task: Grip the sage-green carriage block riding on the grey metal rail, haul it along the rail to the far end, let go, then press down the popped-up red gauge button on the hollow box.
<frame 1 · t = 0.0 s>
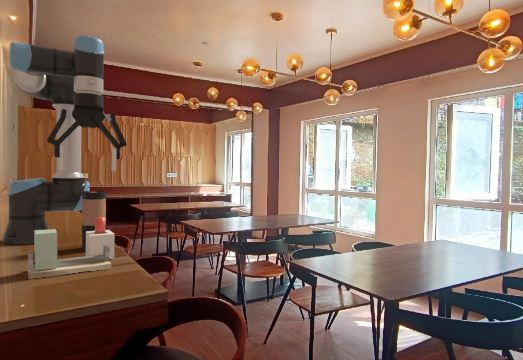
hand: (88, 170, 104), 28 cm above the table, fingers open, 13 cm apart
hollow box: (99, 257, 118), on the table
gauge button: (100, 225, 117), point 10 cm above the table, slide at 0.0 cm
travel mug: (93, 249, 129), on the table
carriage: (45, 248, 100), point 7 cm above the table, slide at 0.0 cm
rail: (70, 269, 104), on the table
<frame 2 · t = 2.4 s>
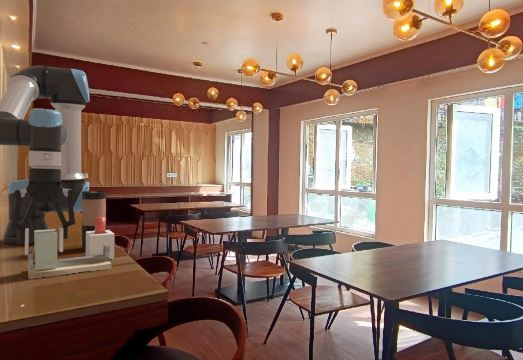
hand: (44, 252, 100), 6 cm above the table, fingers open, 7 cm apart
nothing on the table moved.
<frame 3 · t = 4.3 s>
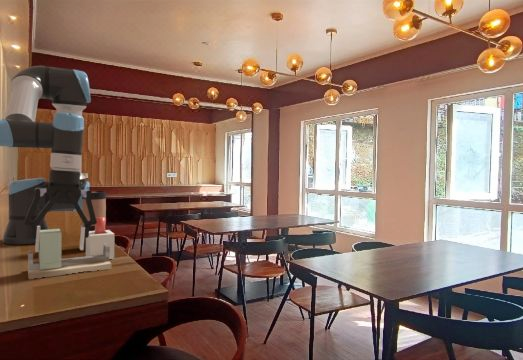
hand: (59, 250, 102), 6 cm above the table, fingers open, 10 cm apart
carriage: (49, 248, 101), point 7 cm above the table, slide at 1.1 cm, touching gripper
everything else where it was.
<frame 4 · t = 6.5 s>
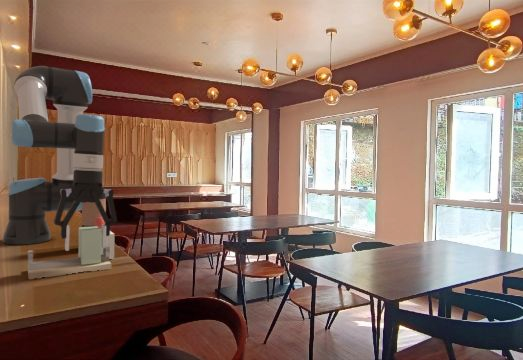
hand: (85, 248, 106), 6 cm above the table, fingers open, 9 cm apart
carriage: (89, 244, 106), point 7 cm above the table, slide at 10.9 cm
everything else where it was.
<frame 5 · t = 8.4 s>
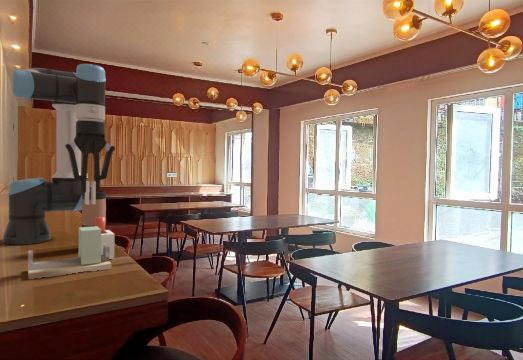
hand: (90, 203, 106), 18 cm above the table, fingers closed
nothing on the table moved.
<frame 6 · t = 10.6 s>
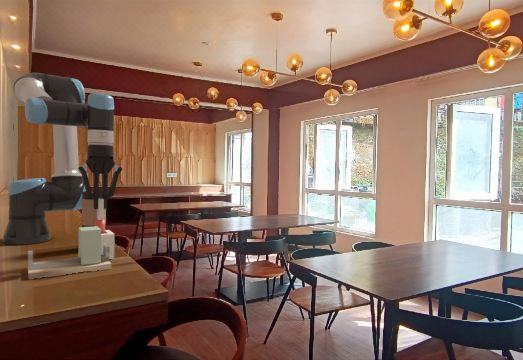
hand: (100, 219, 117), 12 cm above the table, fingers closed
gauge button: (100, 228, 117), point 9 cm above the table, slide at 0.8 cm, touching gripper
everything else where it was.
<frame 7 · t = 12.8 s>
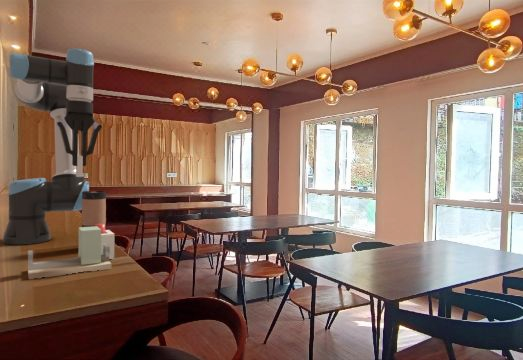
hand: (79, 176, 117), 26 cm above the table, fingers closed
gauge button: (100, 232, 117), point 8 cm above the table, slide at 2.2 cm
everything else where it was.
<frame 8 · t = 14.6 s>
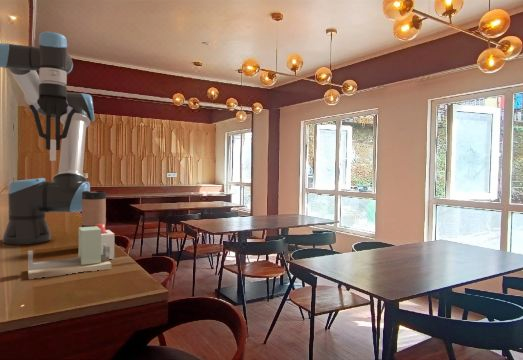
hand: (52, 160, 116), 30 cm above the table, fingers closed
nothing on the table moved.
at the end: carriage slide at 10.9 cm; gauge button slide at 2.2 cm; the gripper is holding nothing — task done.
